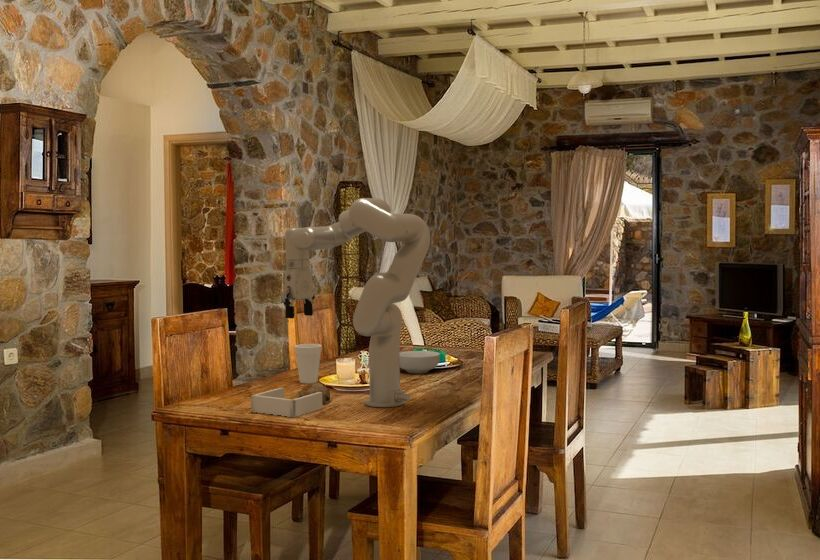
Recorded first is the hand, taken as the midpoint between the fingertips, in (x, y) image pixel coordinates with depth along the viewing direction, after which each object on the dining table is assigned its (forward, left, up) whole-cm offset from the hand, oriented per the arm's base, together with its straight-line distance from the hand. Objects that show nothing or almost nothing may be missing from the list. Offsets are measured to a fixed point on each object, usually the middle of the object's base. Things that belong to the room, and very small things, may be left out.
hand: (299, 316), depth 277 cm
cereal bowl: (-14, -53, -26) cm, 61 cm away
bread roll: (-13, +10, -26) cm, 31 cm away
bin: (-13, +23, -26) cm, 37 cm away
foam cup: (+10, -17, -26) cm, 32 cm away
